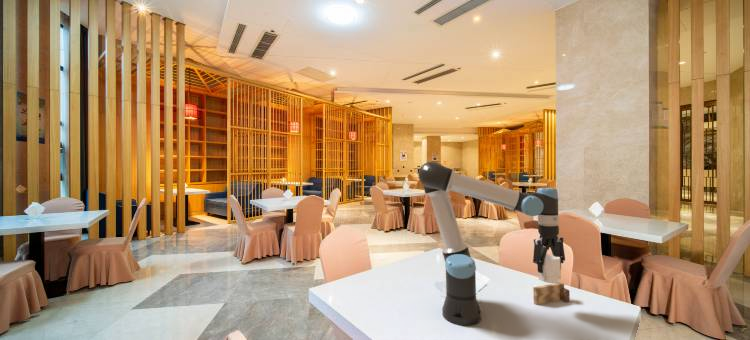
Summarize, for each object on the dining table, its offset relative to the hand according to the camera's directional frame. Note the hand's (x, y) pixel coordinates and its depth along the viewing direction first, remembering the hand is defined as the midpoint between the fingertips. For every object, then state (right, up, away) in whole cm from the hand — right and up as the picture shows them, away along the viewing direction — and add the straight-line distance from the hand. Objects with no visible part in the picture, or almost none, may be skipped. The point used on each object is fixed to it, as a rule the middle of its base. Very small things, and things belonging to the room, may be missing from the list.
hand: (549, 278), depth 122 cm
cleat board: (+5, -13, +6) cm, 15 cm away
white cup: (0, -1, 0) cm, 1 cm away
